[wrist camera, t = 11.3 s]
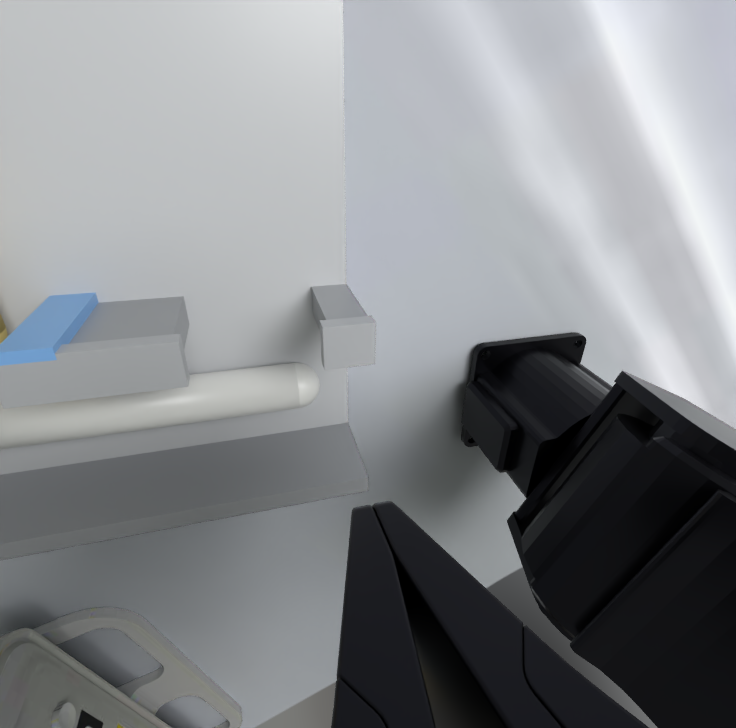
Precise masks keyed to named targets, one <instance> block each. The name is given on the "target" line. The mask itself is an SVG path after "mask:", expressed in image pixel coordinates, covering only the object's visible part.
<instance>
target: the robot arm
mask: <svg viewBox="0 0 736 728" xmlns="http://www.w3.org/2000/svg"><path fill="white" fill-rule="evenodd" d="M576 341H577V342H576ZM575 342H576V343H575ZM574 343H575V344H574ZM585 345H586V338H585V337H584V336H583V335H581V334H579V333H567V334H558V335H550V336H541V337H533V338H524V339H515V340H507V341H498V342H489V343H482V344H480V345H478V346H477V347H476V348H475V350H474V353H473V360H472V367H471V373H470V380H469V383H468V385H467V387H466V394H465V401H464V407H463V414H462V424H463V428H462V435H461V440H462V441H463V443H464V444H465V445H466V446H467V447H473V446H479V447H480V449H481V450H482V451H483V453H484V454H485V455H486V457H487V458H488V459H489V461H490V462H491V463H492V465H493V466H494V467H495V469H496V470H498V471H499V472H500V473H501V472H507V474H508V475H509V476H510V477H511V479H512V480H513V481H514V483H515V484H516V485H517V487H518V488H519V489H520V491H521V492H522V493H523V494H524V496H525V497H526V498H527V499H526V500H525V501H524V502H523V504H522V505H521V506H520V508H519V509H518V510H517V511H516V512H513V513H512V515H511V516H510V517H509V518H508V520H507V523H508V526H509V529H510V531H511V534H512V537H513V540H514V543H515V546H516V548H517V551H518V554H519V557H520V560H521V563H522V565H523V568H524V571H525V574H526V577H527V580H528V583H529V585H530V588H531V591H532V593H533V595H534V598H535V600H536V602H537V603H538V605H539V608H540V610H541V611H542V612H543V614H545V615H546V616H547V618H548V619H549V620H550V621H551V623H552V624H553V625H554V626H555V627H556V628H557V629H558V630H559V631H560V632H561V633H562V634H563V635H564V636H566V637H567V638H568V639H569V640H571V642H570V647H571V648H572V650H573V651H574V652H575V653H576V654H578V655H579V656H581V657H582V658H584V659H585V660H587V661H588V662H589V663H591V664H592V665H594V666H595V667H597V668H598V669H600V670H601V671H602V672H603V673H604V674H605V675H606V676H608V677H609V678H610V679H611V680H612V681H613V682H614V683H616V684H617V685H618V686H619V687H620V688H622V690H624V692H625V693H626V694H627V695H628V696H629V697H630V698H631V699H632V700H633V701H634V702H635V703H636V704H637V705H638V706H639V707H640V708H641V709H642V711H643V712H644V713H645V714H646V715H647V716H648V717H649V718H650V719H651V720H652V722H653V723H654V724H655V725H656V726H657V727H658V728H736V430H735V429H734V428H732V427H731V426H729V425H728V424H726V423H724V422H723V421H721V420H719V419H718V418H716V417H714V416H713V415H711V414H709V413H707V412H706V411H704V410H702V409H701V408H699V407H697V406H696V405H694V404H692V403H691V402H689V401H687V400H686V399H684V398H682V397H679V396H677V395H675V394H673V393H671V392H669V391H666V390H664V389H662V388H660V387H658V386H655V385H653V384H651V383H649V382H647V381H644V380H642V379H640V378H638V377H636V376H634V375H631V374H629V373H627V372H625V371H622V372H621V373H620V374H619V376H618V377H617V378H616V380H615V382H616V383H615V385H614V386H613V387H612V386H611V385H609V384H608V383H606V382H605V381H604V380H602V379H601V378H599V377H598V376H597V375H595V374H594V373H592V372H591V371H590V370H588V369H587V368H585V367H584V366H583V365H581V364H580V362H581V359H582V355H583V352H584V348H585ZM485 351H487V352H486V354H485V355H483V356H482V353H483V352H485ZM470 437H472V438H470ZM469 438H470V439H469ZM331 728H648V727H647V726H646V725H645V724H643V723H642V722H641V721H640V720H638V719H637V718H636V717H635V716H633V715H632V714H631V713H629V712H628V711H627V710H625V709H624V708H623V707H622V706H620V705H619V704H618V703H616V702H615V701H614V700H613V699H611V698H610V697H609V696H607V695H606V694H605V693H604V692H602V691H601V690H600V689H599V688H597V687H596V686H595V685H594V684H592V683H591V682H590V681H589V680H587V679H586V678H585V677H584V676H582V675H581V674H580V673H579V672H578V671H576V670H575V669H574V668H573V667H571V666H570V665H569V664H568V663H567V662H566V661H564V660H563V659H562V658H561V657H560V656H559V655H558V654H557V653H556V652H554V651H553V650H552V649H551V648H550V647H549V646H548V645H547V644H545V643H544V642H543V641H542V640H541V639H540V638H539V637H538V636H537V635H536V634H535V633H534V632H532V631H531V630H530V629H529V628H528V627H527V626H523V623H522V622H521V621H520V620H519V619H518V618H517V617H516V616H515V615H514V614H513V613H512V612H511V611H510V610H509V609H507V608H506V607H505V606H504V605H503V604H502V603H501V602H500V601H499V600H498V599H497V598H496V597H495V596H493V595H492V594H491V593H490V592H489V591H488V590H487V589H486V588H485V587H484V586H483V585H482V584H481V583H479V582H478V581H477V580H476V579H475V578H474V577H473V576H472V575H471V574H470V573H469V572H468V571H467V570H465V569H464V568H463V567H462V566H461V565H460V564H459V563H458V562H457V561H456V560H455V559H454V558H452V557H451V556H450V555H449V554H448V553H447V552H446V551H445V550H444V549H443V548H442V547H441V546H440V545H438V544H437V543H436V542H435V541H434V540H433V539H432V538H431V537H430V536H429V535H428V534H427V533H426V532H424V531H423V530H422V529H421V528H420V527H419V526H418V525H417V524H416V523H415V522H414V521H413V520H411V519H410V518H409V517H408V516H407V515H406V514H405V513H404V512H403V511H402V510H401V509H400V508H399V507H397V506H396V505H395V504H394V503H393V502H391V501H386V502H381V503H376V504H374V505H373V506H370V505H365V506H360V507H355V508H353V510H352V516H351V526H350V537H349V548H348V559H347V570H346V581H345V592H344V603H343V614H342V625H341V636H340V647H339V657H338V668H337V681H336V688H335V698H334V709H333V717H332V726H331Z"/></svg>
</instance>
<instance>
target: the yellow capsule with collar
mask: <svg viewBox="0 0 736 728" xmlns="http://www.w3.org/2000/svg"><path fill="white" fill-rule="evenodd" d="M7 337H8V333H7V329H6V326H5V323H4V321H3V319H2V316H1V314H0V344H1V343H2V342H3V341H4V340H5V339H6V338H7Z"/></svg>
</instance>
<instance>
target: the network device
mask: <svg viewBox="0 0 736 728" xmlns="http://www.w3.org/2000/svg"><path fill="white" fill-rule="evenodd" d="M100 628H113V629H117V630H120V631H122V632H123V633H125V634H126V635H127V636H128V637H129V638H131V639H132V640H133V641H134V642H135V643H136V644H138V645H139V646H140V647H141V648H142V649H144V650H145V651H146V652H147V653H148V654H150V655H151V656H152V657H153V658H154V659H156V660H157V661H158V662H159V663H160V664H161V665H162V667H161V668H159V669H158V670H156V671H154V672H151V673H149V674H147V675H144V676H142V677H140V678H137V679H135V680H133V681H130V682H128V683H126V684H123V685H121V686H119V687H117V688H115V687H114V686H112V685H111V684H109V683H108V682H107V681H105V680H104V679H102V678H101V677H99V676H98V675H97V674H95V673H94V672H92V671H91V670H90V669H88V668H87V667H85V666H84V665H83V664H81V663H80V662H78V661H77V660H75V659H74V658H73V657H71V656H70V655H68V654H67V653H66V652H64V651H63V650H61V649H60V648H59V647H57V646H56V645H58V644H61V643H63V642H65V641H68V640H70V639H73V638H75V637H77V636H80V635H82V634H85V633H87V632H89V631H92V630H95V629H100ZM184 696H198V697H200V698H202V699H203V700H204V701H206V702H207V703H208V704H209V705H210V706H211V707H213V708H214V709H215V710H216V711H217V712H219V713H220V714H221V715H222V716H223V717H225V718H226V719H227V721H225V722H224V723H222V724H220V725H218V726H216V727H214V728H239V727H240V726H241V723H242V710H241V707H240V705H239V704H238V703H237V702H236V701H235V700H234V699H232V698H231V697H230V696H229V695H228V694H227V693H226V692H225V691H224V690H223V689H221V688H220V687H219V686H218V685H217V684H216V683H215V682H214V681H213V680H212V679H210V678H209V677H208V676H207V675H206V674H205V673H204V672H203V671H202V670H201V669H200V668H198V667H197V666H196V665H195V664H194V663H193V662H192V661H191V660H190V659H189V658H187V657H186V656H185V655H184V654H183V653H182V652H181V651H180V650H179V649H178V648H176V647H175V646H174V645H173V644H172V643H171V642H170V641H169V640H168V639H167V638H166V637H164V636H163V635H162V634H161V633H160V632H159V631H158V630H157V629H156V628H155V627H153V626H152V625H151V624H150V623H149V622H148V621H147V620H146V619H145V618H143V617H142V616H140V615H139V614H137V613H134V612H132V611H129V610H125V609H120V608H109V607H101V608H90V609H85V610H80V611H77V612H74V613H71V614H68V615H65V616H63V617H60V618H58V619H56V620H53V621H51V622H48V623H46V624H44V625H41V626H39V627H36V628H34V629H28V628H22V629H17V630H15V631H13V632H10V633H8V634H5V635H3V636H1V637H0V728H171V727H170V726H169V725H167V724H166V723H164V722H163V721H162V720H160V719H159V718H157V717H156V716H155V714H156V712H157V711H158V709H159V708H160V707H161V706H163V705H164V704H166V703H168V702H170V701H172V700H175V699H177V698H180V697H184Z"/></svg>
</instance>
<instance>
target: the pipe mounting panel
mask: <svg viewBox="0 0 736 728" xmlns="http://www.w3.org/2000/svg"><path fill="white" fill-rule="evenodd" d="M0 314H1V316H2V319H3V321H4V323H5V326H6V329H7V333H8V337H7V338H6V339H5V340H4V341H3V342H2V343H1V344H0V560H5V559H10V558H16V557H21V556H26V555H32V554H37V553H42V552H48V551H53V550H58V549H63V548H69V547H74V546H79V545H85V544H90V543H95V542H101V541H106V540H111V539H116V538H122V537H127V536H132V535H138V534H143V533H148V532H154V531H159V530H164V529H169V528H175V527H180V526H185V525H191V524H196V523H201V522H207V521H212V520H217V519H222V518H228V517H233V516H238V515H244V514H249V513H254V512H260V511H265V510H270V509H275V508H281V507H286V506H291V505H297V504H302V503H307V502H313V501H318V500H323V499H328V498H334V497H339V496H344V495H350V494H355V493H360V492H366V491H368V478H369V477H368V475H367V472H366V469H365V467H364V464H363V461H362V459H361V456H360V453H359V451H358V448H357V445H356V442H355V440H354V437H353V434H352V432H351V429H350V426H349V424H348V374H347V368H348V367H356V366H365V365H373V364H375V345H376V322H375V320H374V319H373V317H372V316H368V315H367V314H366V312H365V311H364V309H363V308H362V307H361V305H360V304H359V302H358V301H357V299H356V298H355V296H354V295H353V293H352V292H351V290H350V289H349V287H348V286H347V284H346V213H345V132H344V51H343V0H0Z"/></svg>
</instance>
